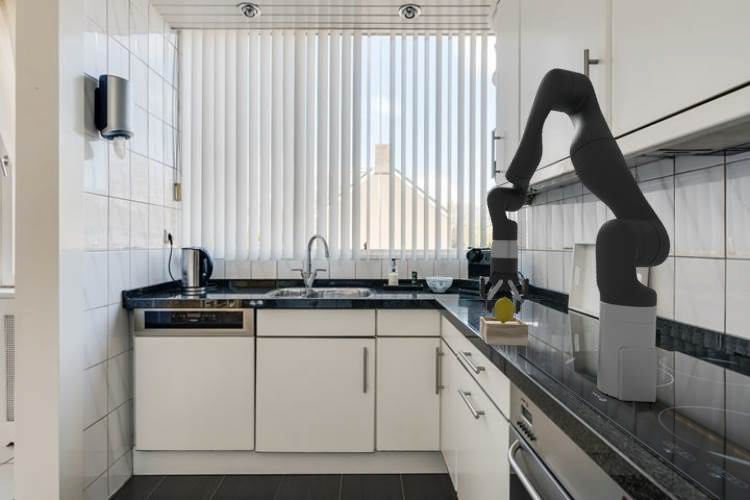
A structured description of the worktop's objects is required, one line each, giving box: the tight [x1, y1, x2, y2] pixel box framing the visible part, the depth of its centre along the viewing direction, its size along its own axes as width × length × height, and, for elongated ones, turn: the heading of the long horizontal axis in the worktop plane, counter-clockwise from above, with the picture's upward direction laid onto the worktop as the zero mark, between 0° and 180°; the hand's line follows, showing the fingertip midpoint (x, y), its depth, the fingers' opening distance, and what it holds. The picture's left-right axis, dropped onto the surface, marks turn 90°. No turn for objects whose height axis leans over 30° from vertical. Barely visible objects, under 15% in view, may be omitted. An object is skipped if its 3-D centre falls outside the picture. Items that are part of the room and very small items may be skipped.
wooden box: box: [479, 316, 529, 347], centre depth 117 cm, size 11×11×6 cm
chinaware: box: [425, 276, 454, 293], centre depth 225 cm, size 15×15×8 cm
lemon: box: [493, 296, 515, 324], centre depth 116 cm, size 6×6×8 cm
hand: (503, 312), depth 117 cm, fingers open, 7 cm apart
